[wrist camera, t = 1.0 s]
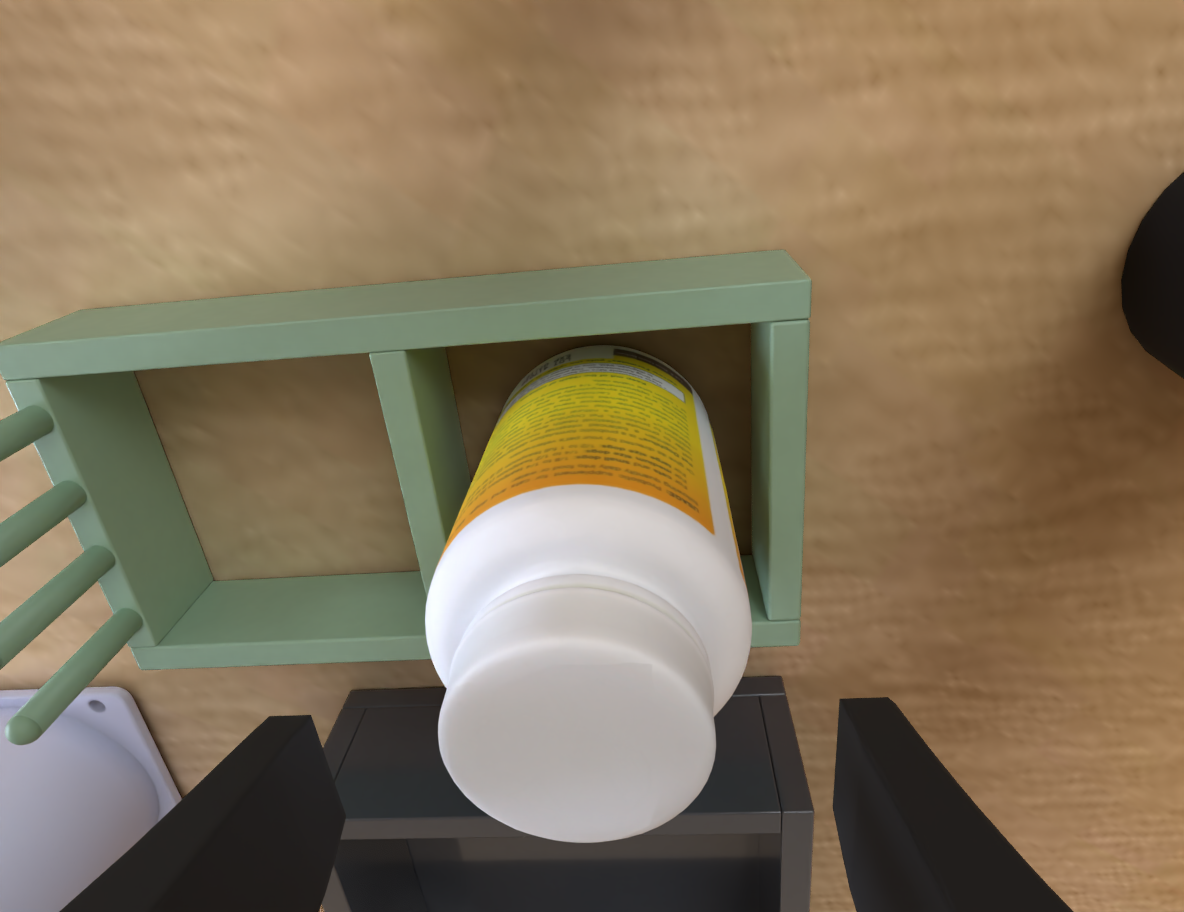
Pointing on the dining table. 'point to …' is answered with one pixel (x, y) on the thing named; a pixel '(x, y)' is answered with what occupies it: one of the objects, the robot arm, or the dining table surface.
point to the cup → (1158, 280)
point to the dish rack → (417, 437)
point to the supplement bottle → (590, 603)
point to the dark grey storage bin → (556, 868)
